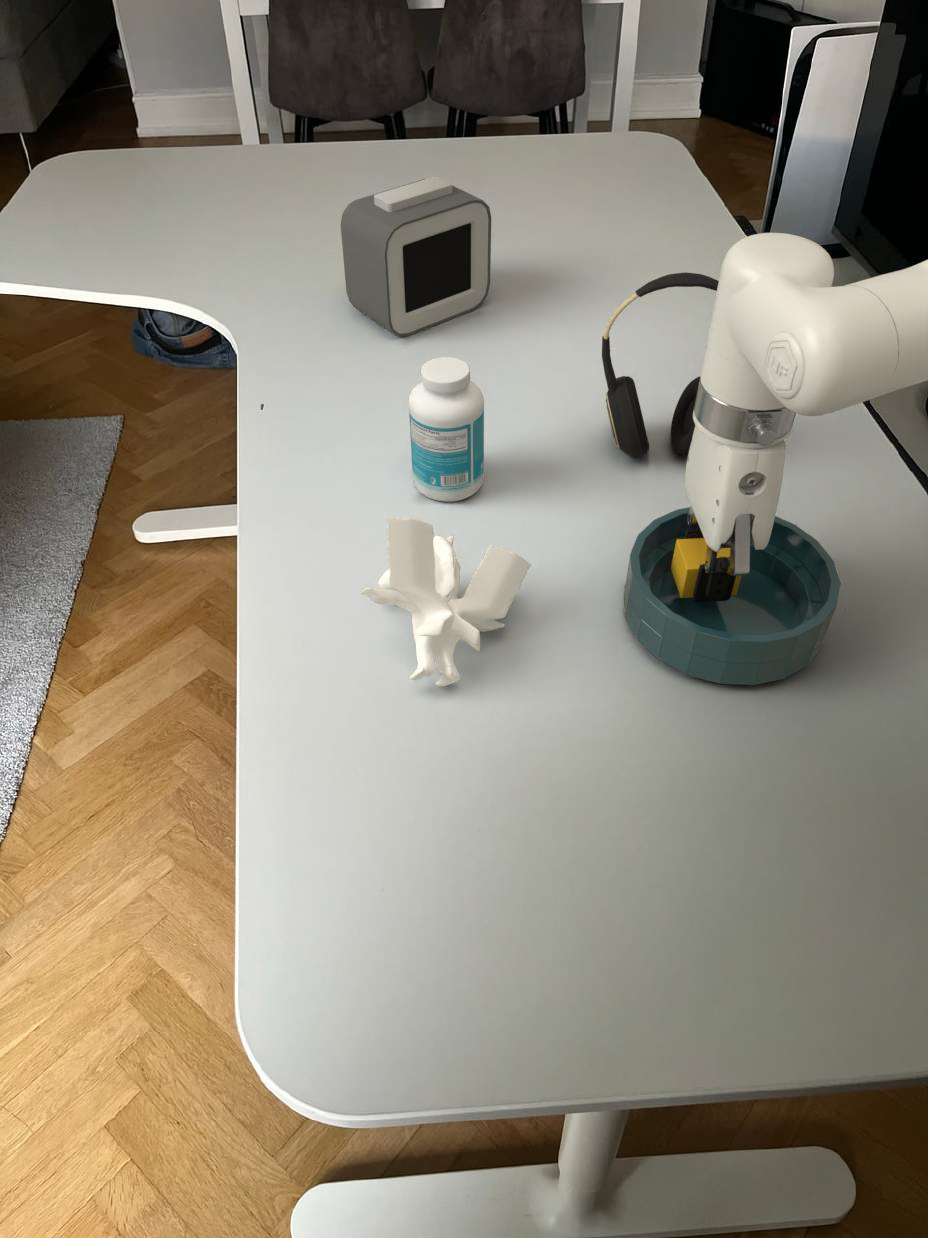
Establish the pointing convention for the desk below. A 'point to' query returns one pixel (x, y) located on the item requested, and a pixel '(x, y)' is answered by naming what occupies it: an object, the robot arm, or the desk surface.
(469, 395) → the pill bottle
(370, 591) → the figurine
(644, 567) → the bowl
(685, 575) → the yellow block
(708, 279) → the headphones
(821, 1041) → the desk surface
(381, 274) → the alarm clock
